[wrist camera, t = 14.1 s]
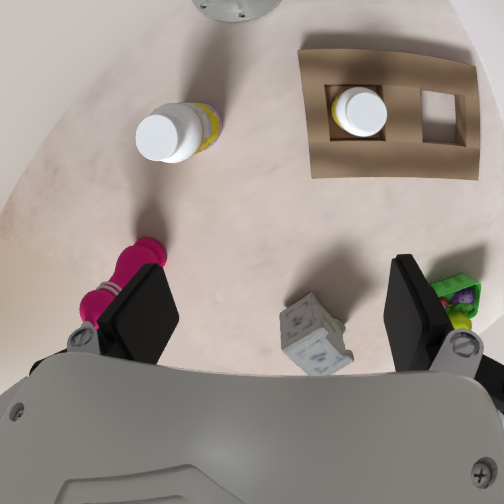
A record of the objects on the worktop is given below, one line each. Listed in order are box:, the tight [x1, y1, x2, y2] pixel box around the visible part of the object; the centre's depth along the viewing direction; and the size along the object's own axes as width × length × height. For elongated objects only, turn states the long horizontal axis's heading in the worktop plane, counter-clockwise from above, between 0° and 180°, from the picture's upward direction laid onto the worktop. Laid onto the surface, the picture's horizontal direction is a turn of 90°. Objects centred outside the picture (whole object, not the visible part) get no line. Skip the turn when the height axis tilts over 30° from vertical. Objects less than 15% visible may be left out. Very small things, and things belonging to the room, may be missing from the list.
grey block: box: [279, 292, 354, 376], centre depth 43 cm, size 10×8×10 cm
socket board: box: [297, 49, 480, 180], centre depth 29 cm, size 16×24×3 cm, turn 98°
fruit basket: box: [429, 273, 481, 330], centre depth 36 cm, size 11×9×11 cm
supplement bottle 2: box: [331, 87, 387, 137], centre depth 27 cm, size 5×5×10 cm
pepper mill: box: [80, 238, 166, 329], centre depth 38 cm, size 7×7×20 cm
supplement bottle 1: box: [135, 103, 222, 163], centre depth 30 cm, size 7×7×13 cm
